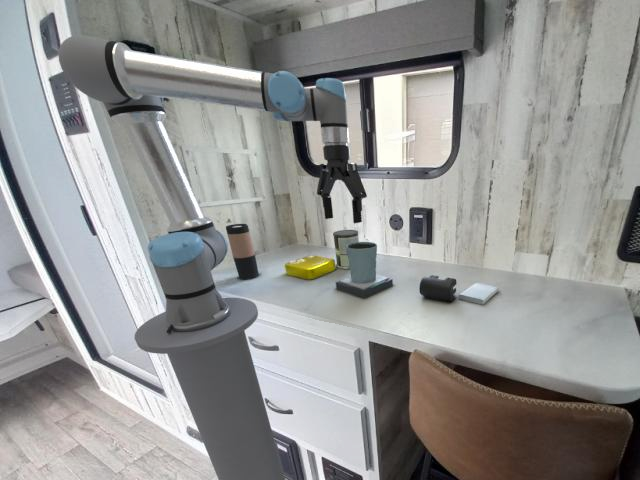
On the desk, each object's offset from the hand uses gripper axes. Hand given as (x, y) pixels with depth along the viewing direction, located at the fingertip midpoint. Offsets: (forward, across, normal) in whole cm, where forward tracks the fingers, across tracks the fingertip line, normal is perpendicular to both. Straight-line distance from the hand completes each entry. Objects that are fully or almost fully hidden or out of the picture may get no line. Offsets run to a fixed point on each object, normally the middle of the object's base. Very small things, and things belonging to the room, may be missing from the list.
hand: (342, 220), depth 97 cm
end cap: (+23, -29, -12) cm, 39 cm away
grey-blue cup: (+20, -3, -4) cm, 21 cm away
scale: (+23, -3, -4) cm, 24 cm away
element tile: (+24, +27, -4) cm, 36 cm away
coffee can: (+24, +21, -19) cm, 37 cm away
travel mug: (+24, +43, +14) cm, 51 cm away
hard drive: (+23, -38, -22) cm, 50 cm away
